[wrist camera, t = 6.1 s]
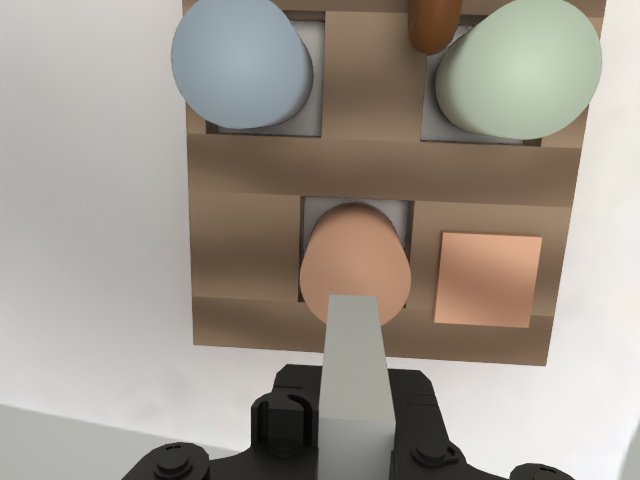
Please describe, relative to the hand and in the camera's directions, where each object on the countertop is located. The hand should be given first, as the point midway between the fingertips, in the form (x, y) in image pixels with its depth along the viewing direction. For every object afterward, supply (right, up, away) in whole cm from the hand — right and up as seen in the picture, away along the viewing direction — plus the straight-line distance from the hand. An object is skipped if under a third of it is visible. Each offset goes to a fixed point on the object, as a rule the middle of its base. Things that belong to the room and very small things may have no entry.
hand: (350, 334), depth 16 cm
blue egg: (-4, +11, +8) cm, 15 cm away
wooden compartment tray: (+2, +7, +12) cm, 14 cm away
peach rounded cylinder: (+1, +3, +12) cm, 12 cm away
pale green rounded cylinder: (+7, +11, +8) cm, 15 cm away
